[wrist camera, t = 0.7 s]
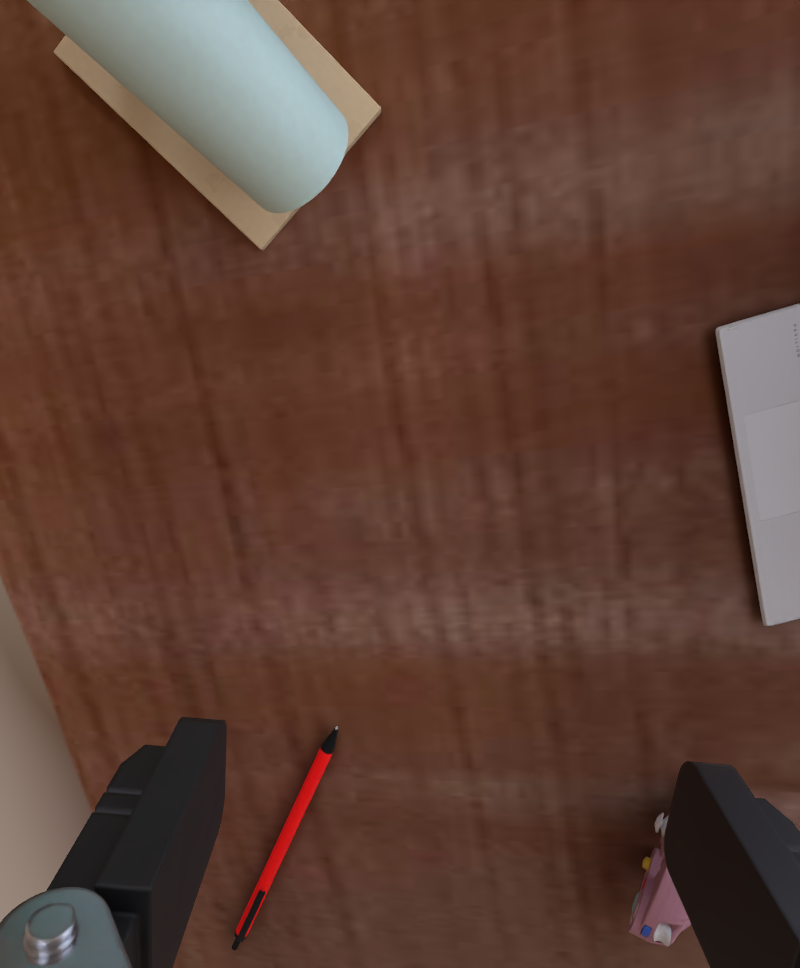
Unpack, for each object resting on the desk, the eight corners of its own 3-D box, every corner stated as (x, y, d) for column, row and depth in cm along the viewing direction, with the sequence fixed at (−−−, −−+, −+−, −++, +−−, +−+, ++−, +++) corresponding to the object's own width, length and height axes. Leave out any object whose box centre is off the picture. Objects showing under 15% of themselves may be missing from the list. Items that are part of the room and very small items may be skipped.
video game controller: (673, 757, 47) (661, 817, 40) (746, 791, 45) (745, 859, 39) (626, 875, 49) (608, 948, 43) (693, 911, 47) (685, 992, 41)
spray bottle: (373, 151, 35) (348, 46, 19) (292, 245, 36) (209, 215, 20) (114, -114, 32) (-156, -485, 16) (36, -2, 33) (-283, -251, 18)
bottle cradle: (382, 111, 35) (374, 52, 26) (263, 250, 37) (218, 240, 28) (176, -103, 32) (90, -249, 24) (60, 56, 34) (-60, -23, 25)
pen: (229, 939, 49) (225, 954, 48) (331, 720, 44) (329, 731, 43) (242, 943, 49) (238, 958, 48) (344, 725, 44) (343, 736, 43)
